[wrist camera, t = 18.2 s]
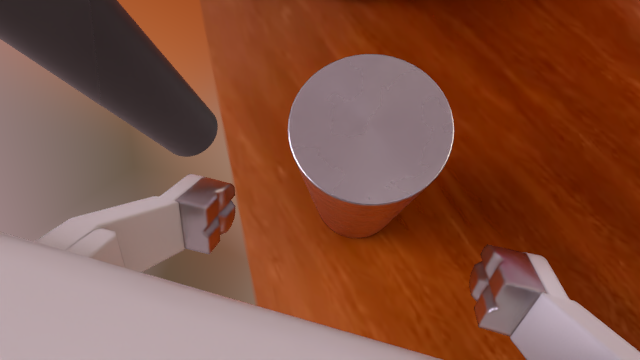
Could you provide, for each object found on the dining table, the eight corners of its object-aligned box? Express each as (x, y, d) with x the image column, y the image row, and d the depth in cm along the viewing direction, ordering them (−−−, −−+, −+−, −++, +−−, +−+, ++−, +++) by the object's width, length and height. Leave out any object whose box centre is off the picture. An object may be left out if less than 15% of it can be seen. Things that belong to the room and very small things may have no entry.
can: (329, 248, 21) (313, 228, 10) (307, 174, 23) (270, 79, 11) (407, 224, 21) (483, 175, 10) (379, 151, 23) (417, 34, 11)
